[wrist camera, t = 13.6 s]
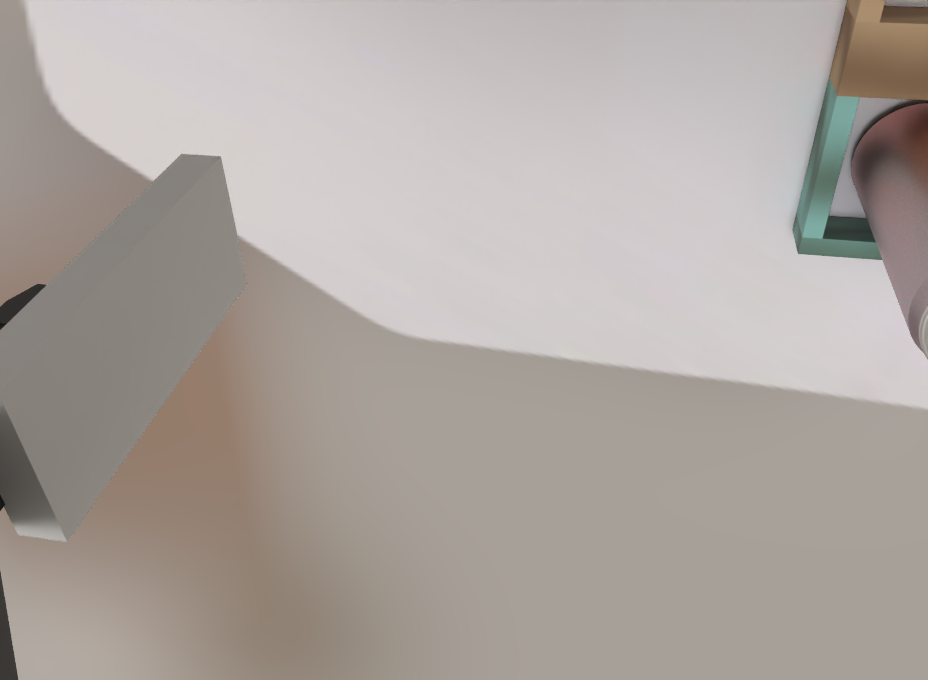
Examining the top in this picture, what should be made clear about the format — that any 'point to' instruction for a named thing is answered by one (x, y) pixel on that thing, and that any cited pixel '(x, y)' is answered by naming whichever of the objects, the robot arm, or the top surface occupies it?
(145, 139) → the top surface
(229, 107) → the top surface
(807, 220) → the holder board
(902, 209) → the beverage can
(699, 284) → the top surface
